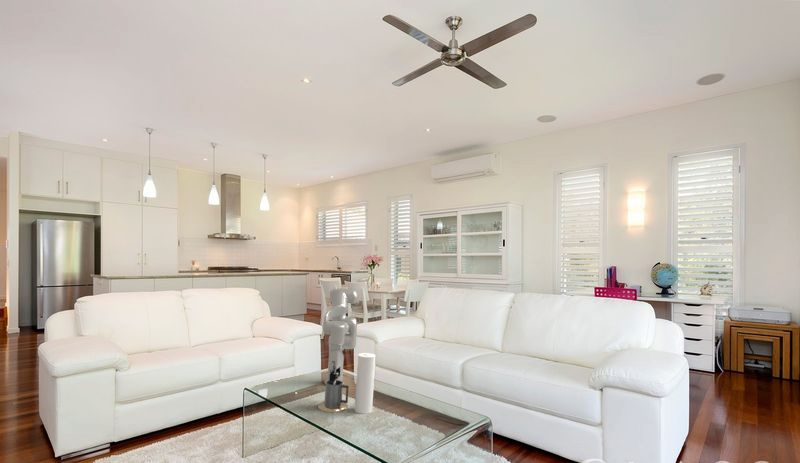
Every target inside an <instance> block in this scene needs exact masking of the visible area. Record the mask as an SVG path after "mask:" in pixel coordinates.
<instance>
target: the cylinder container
mask: <svg viewBox="0 0 800 463" xmlns="http://www.w3.org/2000/svg"><path fill="white" fill-rule="evenodd" d="M376 356H377V355H376V354H375V353H371V352H361V353H358V354H357V369H356V383H355V384H356V385H355V397H354V398H355V399H354V412H355V413H357V414H363V415H364V414H370V413H372V412H373V400H374V389H375V388H374V387H375V384H374V383H375V373H376V372H375V371H376V370H375V369H376Z"/></svg>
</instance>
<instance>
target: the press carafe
mask: <svg viewBox="0 0 800 463" xmlns="http://www.w3.org/2000/svg"><path fill="white" fill-rule="evenodd" d="M333 383H334V382H333V381H327V382H326V384H325V389H324V390H325V391H324V401H321V402H319V403H318V404H317V409H318V410H320V411H322V412H325V413H341V412H343V411H346V410H347V409H348V402H349V389H350V385H348V384H347V385H346V384H344V385H343V382H342V381H339V380H336V381H335V385H333ZM343 388H344V389H345V399H343V390H344V389H343Z"/></svg>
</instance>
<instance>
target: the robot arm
mask: <svg viewBox="0 0 800 463" xmlns="http://www.w3.org/2000/svg"><path fill="white" fill-rule="evenodd" d="M358 296H359V295H358V291H357V290H356V289H347V288H345V289H344V288H334V289H331V290H330V292H329V299H330V302H331V305H332V307H331V308H330V309H329V310H328V311H327V312H326V313H325V315H324V318H323V325H322V332H323V333H324V334H325V335H329V337H328V362H327V363H328V365H327V377H326V378H327V379H325V380H324V385H326V382H327V381H333V382H335V379H336V374H335V372H339V373H338V379H336V380H339V381H342V380H343V378H344V377H343V375H344V374H343V373H344V363H345V362H344V361H345V355H344V352H343V351H344V350H354V349H355V348H356V345H357V331H358V330H357V329H358V322H357V318H356V317H354V316H347V311H348V310H347V309H348V304H357V302H358ZM344 382H345V381H344ZM344 382H343V384H344V385H345V383H344Z"/></svg>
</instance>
